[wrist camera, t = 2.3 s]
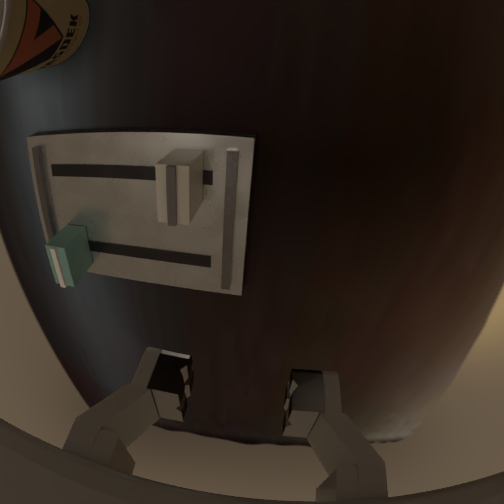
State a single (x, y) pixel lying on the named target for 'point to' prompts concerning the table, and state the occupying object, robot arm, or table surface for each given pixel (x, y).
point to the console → (147, 202)
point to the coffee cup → (39, 33)
